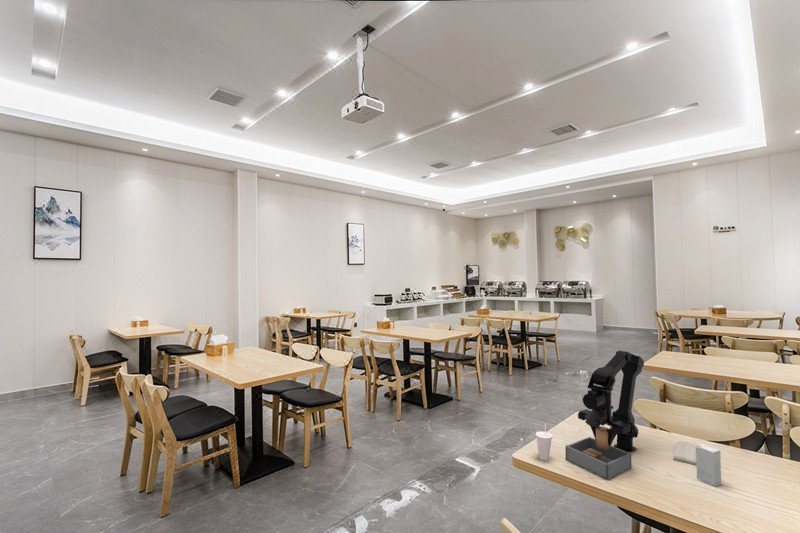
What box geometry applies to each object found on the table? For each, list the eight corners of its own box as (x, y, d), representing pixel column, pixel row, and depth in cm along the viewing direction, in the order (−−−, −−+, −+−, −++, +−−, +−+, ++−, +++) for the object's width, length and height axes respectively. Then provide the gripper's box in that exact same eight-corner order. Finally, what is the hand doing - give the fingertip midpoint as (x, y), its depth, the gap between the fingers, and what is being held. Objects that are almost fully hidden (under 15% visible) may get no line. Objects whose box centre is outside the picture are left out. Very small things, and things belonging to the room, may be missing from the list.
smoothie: (553, 463, 158) (553, 427, 157) (536, 461, 159) (536, 426, 159) (551, 455, 164) (550, 421, 164) (534, 454, 165) (534, 420, 165)
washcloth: (711, 453, 166) (711, 445, 166) (711, 471, 152) (711, 463, 152) (676, 445, 173) (676, 437, 173) (672, 461, 159) (672, 453, 159)
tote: (589, 450, 168) (589, 436, 168) (631, 468, 153) (631, 453, 153) (565, 459, 160) (565, 445, 160) (607, 480, 145) (607, 464, 145)
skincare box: (721, 484, 142) (721, 449, 142) (714, 487, 140) (714, 452, 140) (702, 475, 148) (702, 442, 147) (695, 478, 146) (695, 445, 145)
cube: (590, 460, 158) (590, 447, 158) (602, 466, 154) (602, 453, 154) (582, 464, 156) (582, 451, 155) (594, 469, 151) (594, 456, 151)
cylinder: (600, 442, 162) (600, 425, 162) (612, 447, 157) (612, 429, 157) (593, 445, 159) (593, 428, 159) (605, 450, 155) (605, 432, 155)
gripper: (569, 400, 162) (569, 438, 162) (614, 415, 146) (614, 458, 146) (586, 395, 168) (586, 432, 168) (631, 409, 152) (631, 450, 152)
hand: (603, 442), depth 158 cm, fingers closed on cylinder, 5 cm apart
